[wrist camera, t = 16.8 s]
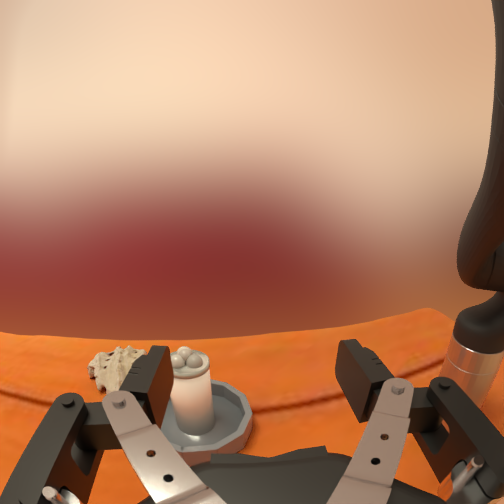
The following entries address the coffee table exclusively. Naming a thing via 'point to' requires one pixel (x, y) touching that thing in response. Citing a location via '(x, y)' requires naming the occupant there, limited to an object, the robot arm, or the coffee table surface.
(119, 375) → the coral
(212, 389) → the bowl
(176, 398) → the pebble cup
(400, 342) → the coffee table surface
